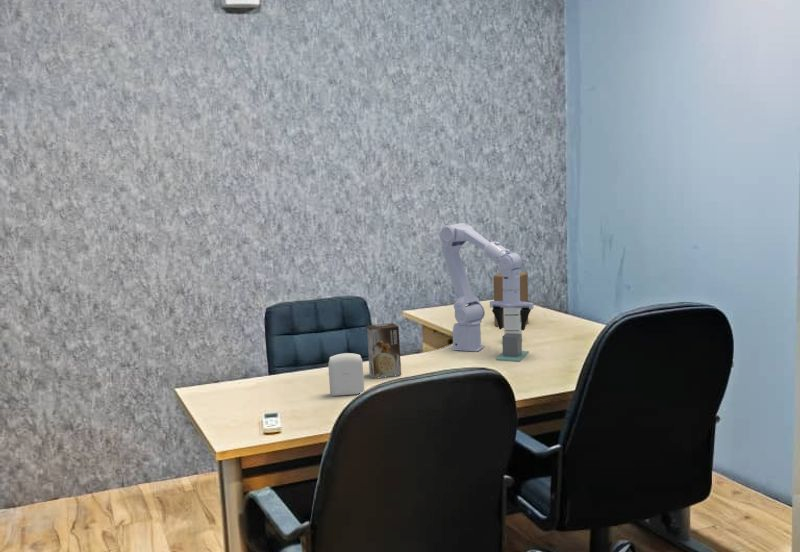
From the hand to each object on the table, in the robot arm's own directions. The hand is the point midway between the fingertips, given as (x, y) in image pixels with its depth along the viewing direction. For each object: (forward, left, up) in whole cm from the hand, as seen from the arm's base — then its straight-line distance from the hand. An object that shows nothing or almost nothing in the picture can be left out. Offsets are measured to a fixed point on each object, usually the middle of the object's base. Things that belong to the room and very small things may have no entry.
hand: (511, 329), depth 315 cm
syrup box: (-5, +19, -10) cm, 22 cm away
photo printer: (-36, -54, -10) cm, 66 cm away
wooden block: (-13, +46, -10) cm, 49 cm away
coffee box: (-33, -32, -10) cm, 47 cm away
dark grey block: (0, 0, -9) cm, 9 cm away
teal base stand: (0, 0, -9) cm, 9 cm away
